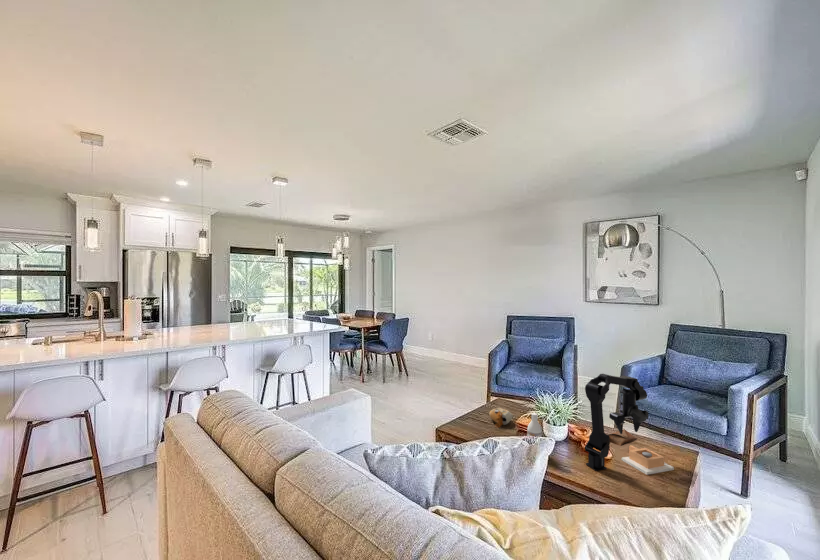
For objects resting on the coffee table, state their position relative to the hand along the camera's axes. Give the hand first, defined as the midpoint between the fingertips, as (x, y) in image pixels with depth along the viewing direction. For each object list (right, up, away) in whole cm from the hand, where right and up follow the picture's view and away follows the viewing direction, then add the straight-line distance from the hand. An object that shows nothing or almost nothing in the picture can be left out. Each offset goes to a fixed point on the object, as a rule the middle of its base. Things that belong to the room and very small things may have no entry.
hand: (628, 432), depth 187 cm
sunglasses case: (+8, -12, +19) cm, 24 cm away
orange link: (+3, -11, -6) cm, 13 cm away
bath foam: (-46, -12, +3) cm, 48 cm away
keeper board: (+4, -12, -8) cm, 15 cm away
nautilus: (-55, -11, +41) cm, 70 cm away
